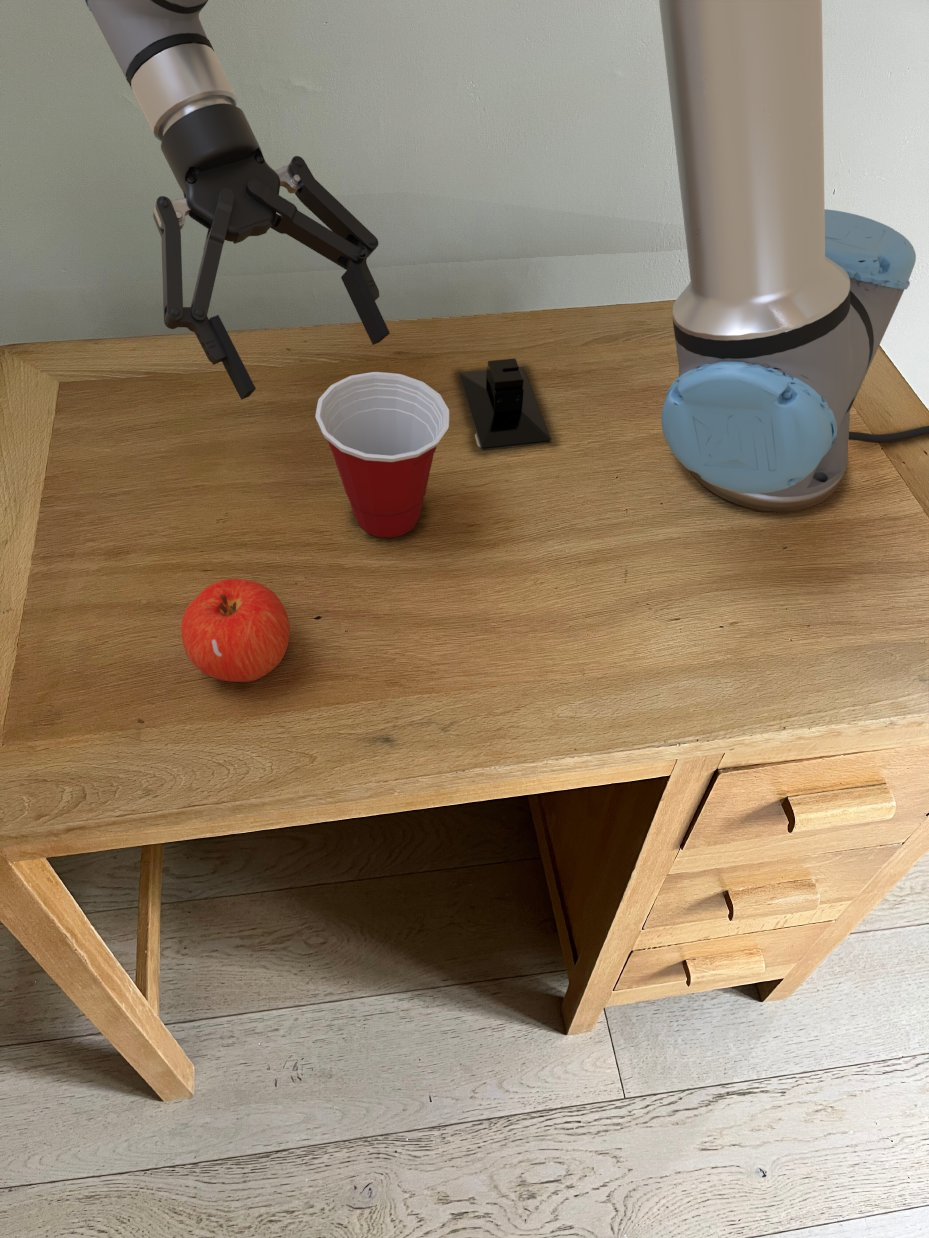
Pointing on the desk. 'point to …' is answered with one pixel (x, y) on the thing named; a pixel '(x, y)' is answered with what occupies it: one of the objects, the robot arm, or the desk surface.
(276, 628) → the apple
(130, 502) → the desk surface
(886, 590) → the desk surface
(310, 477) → the desk surface
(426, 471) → the plastic cup
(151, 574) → the desk surface
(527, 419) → the black stand
